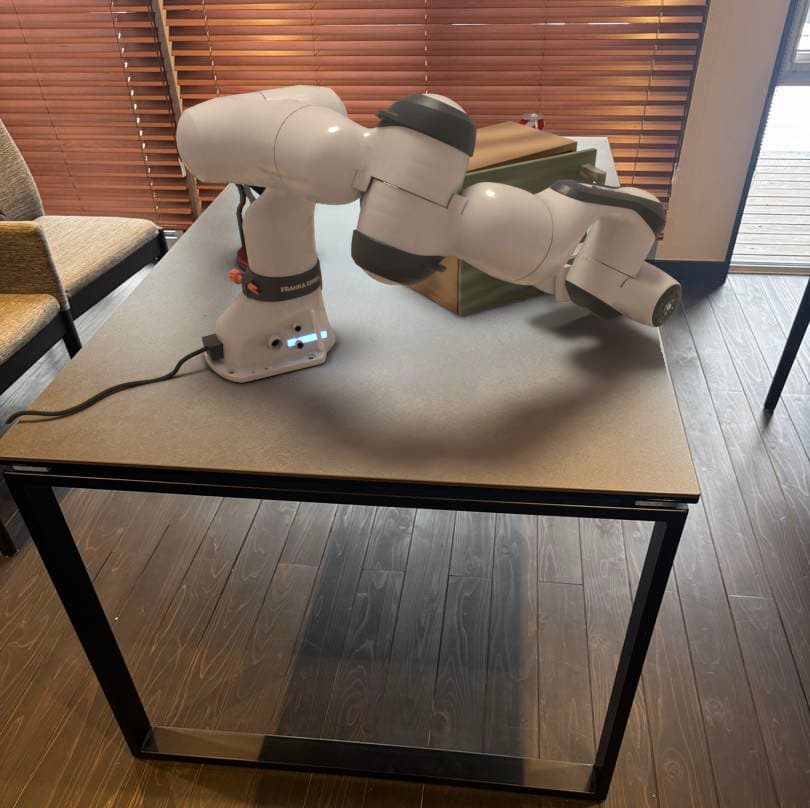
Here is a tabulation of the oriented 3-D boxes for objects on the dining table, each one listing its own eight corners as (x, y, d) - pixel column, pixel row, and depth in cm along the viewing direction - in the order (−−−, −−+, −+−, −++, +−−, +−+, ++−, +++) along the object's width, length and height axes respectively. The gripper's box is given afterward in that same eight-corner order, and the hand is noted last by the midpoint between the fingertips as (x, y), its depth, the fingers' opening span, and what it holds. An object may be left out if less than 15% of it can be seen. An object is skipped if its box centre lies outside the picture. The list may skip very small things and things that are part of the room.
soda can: (511, 165, 207) (513, 115, 199) (533, 161, 209) (536, 111, 200) (524, 172, 202) (527, 121, 194) (547, 168, 204) (551, 117, 196)
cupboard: (563, 276, 155) (577, 141, 138) (456, 314, 144) (458, 173, 128) (503, 248, 166) (510, 120, 150) (400, 282, 155) (395, 148, 139)
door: (599, 295, 147) (618, 157, 131) (477, 329, 139) (481, 186, 123) (577, 282, 152) (593, 147, 136) (458, 314, 144) (459, 174, 128)
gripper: (651, 240, 135) (598, 217, 144) (556, 268, 128) (506, 242, 137) (645, 276, 139) (594, 251, 148) (552, 305, 132) (505, 277, 141)
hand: (551, 247), depth 143 cm, fingers closed
